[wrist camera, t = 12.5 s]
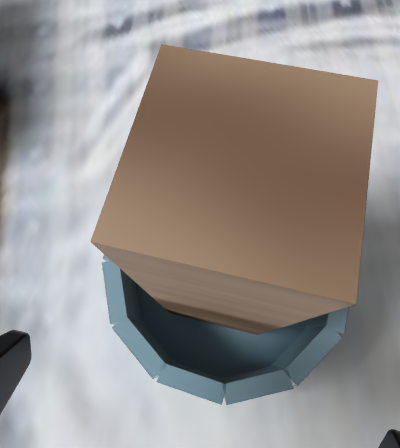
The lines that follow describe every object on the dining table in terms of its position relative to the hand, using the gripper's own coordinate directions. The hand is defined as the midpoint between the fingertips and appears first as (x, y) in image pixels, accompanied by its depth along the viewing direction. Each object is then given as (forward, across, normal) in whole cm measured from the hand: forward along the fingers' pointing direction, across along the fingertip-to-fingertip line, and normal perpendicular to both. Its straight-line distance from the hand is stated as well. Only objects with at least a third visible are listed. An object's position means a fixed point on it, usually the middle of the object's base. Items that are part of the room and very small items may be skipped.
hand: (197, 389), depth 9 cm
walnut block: (+11, 0, +4) cm, 12 cm away
